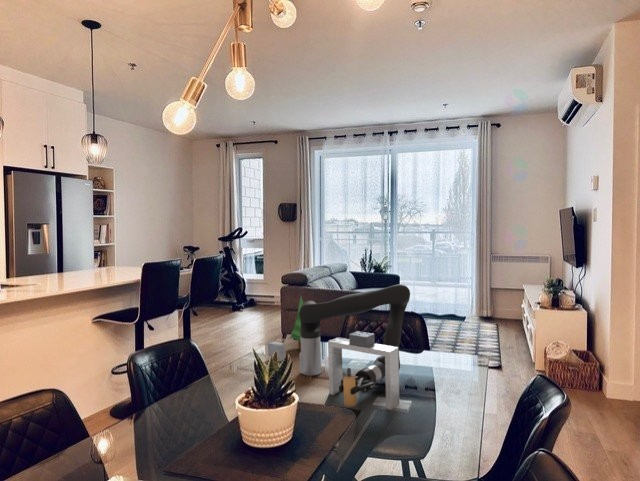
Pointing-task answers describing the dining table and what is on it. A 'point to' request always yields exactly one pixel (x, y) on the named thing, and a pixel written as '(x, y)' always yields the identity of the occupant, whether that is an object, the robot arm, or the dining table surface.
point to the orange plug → (349, 389)
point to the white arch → (366, 345)
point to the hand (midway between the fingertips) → (345, 390)
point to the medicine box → (277, 350)
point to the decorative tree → (297, 327)
